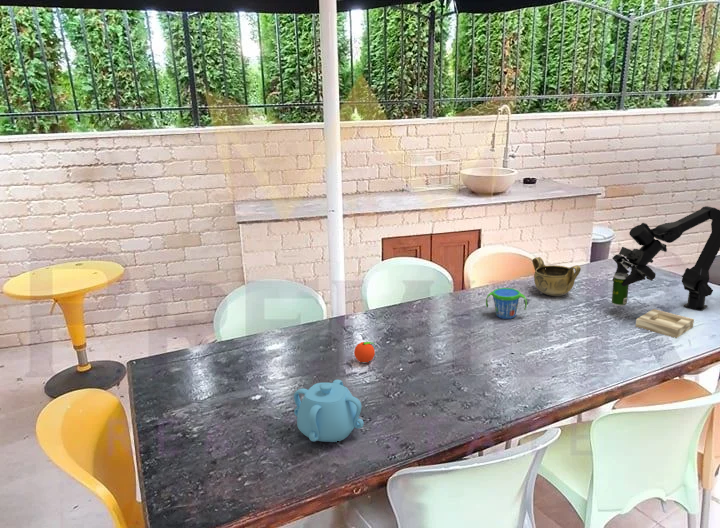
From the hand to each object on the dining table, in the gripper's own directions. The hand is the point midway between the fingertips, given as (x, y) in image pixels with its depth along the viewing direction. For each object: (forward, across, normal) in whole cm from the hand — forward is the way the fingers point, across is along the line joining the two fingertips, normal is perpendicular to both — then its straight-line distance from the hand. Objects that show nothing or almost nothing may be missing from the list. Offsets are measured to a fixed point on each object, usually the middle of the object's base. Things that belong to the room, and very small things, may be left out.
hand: (617, 283), depth 198 cm
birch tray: (+3, +14, +17) cm, 22 cm away
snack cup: (+38, -10, -19) cm, 44 cm away
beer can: (+5, 0, +7) cm, 9 cm away
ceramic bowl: (+17, -28, +2) cm, 33 cm away
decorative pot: (+91, +51, -74) cm, 128 cm away
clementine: (+80, +15, -63) cm, 103 cm away
